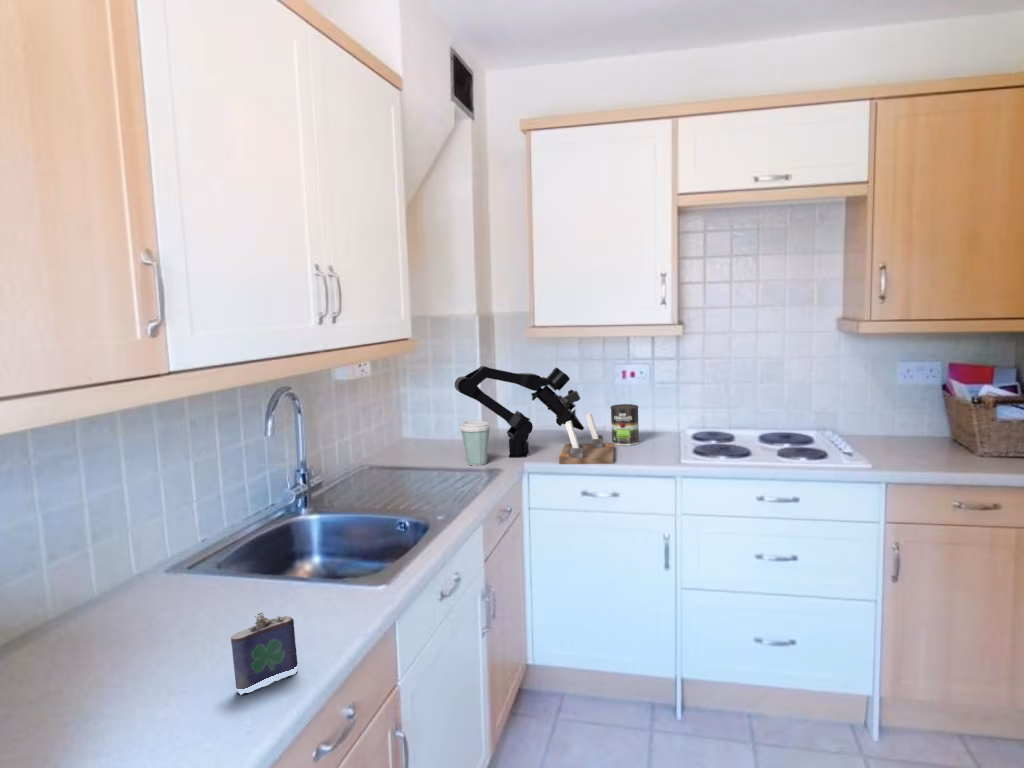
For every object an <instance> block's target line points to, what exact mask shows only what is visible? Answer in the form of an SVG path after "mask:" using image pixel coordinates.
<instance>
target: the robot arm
mask: <svg viewBox="0 0 1024 768" xmlns="http://www.w3.org/2000/svg"><path fill="white" fill-rule="evenodd" d="M486 379H490V380H496V381H501V382H506V383H511V384H516V385H517V386H521V387H523V388H526V389H527V390H531V391H535V392H531V394H530V395H531V401H532V402H533V401H535V400H536V398H537V399H538V400H539V401H540V402H541V403H542V404H544V405H545V406H546V408H547V410H548V411H551V413H554V414H555V417H556V419H555V421H556V422H555V423H556V424H557V425H558V426H559V427H561V426H562V425H565V423H566V422H567V421H572V424H573V427H574V429H577V430H580V431H583V430H584V429H585V427H584V425H583V424H582V423H581V421H580V420H579V418H578V417H577V415H576V410H577V409H576V406H577V405H576V404H575V403H576V402H579V401H580V400H581V396H580V394H579V392H578V391H577V390H573V389H570V390H568V392H567V395H565V396H562V395H558V394H557V393H556V391H561V390H562V389H563V388H564V386H566V384H568V382H569V381H570V380H571V378H570V377H569V375H568V374H566V373H565V372H564V371H563V370H561V369H560V368H559V367H555V368H554V369H553V370H552V371H551V373H549V374H548V376H547V377H544V376H542V377H541V376H540V375H538V374H535V373H530V372H529V373H528V372H526V373H525V372H524V373H523V372H522V373H521V372H519V373H518V372H512V371H506V370H502V369H496V368H492V367H489V366H485V365H481V366H479V367H478V368H477V369H475V370H473V371H471V372H470V373H468V374H466V375H464V376H463V375H462V376H459V377H457V378H456V379H455V381H454V389H455V390H456V391H457V392H459V393H460V394H463V395H465V396H466V397H469V398H470V399H473V400H476V401H477V402H479V404H481V405H482V406H484V407H485V408H487V409H488V410H490V411H492V412H493V413H494V414H496V415H498V416H499V418H501V419H503V420H504V421H506V423H507V424H508V425H509V426H510V427H509V429H508V430H507V431H506V434H507V436H508V438H509V439H508V449H509V451H508V452H509V455H508V458H526V457H528V455H529V454H530V442H529V441H528V439H529V436H530V434H531V433H532V431H533V429H534V428H533V427H534V426H533V423H532V422H531V418H530V417H527V416H525V415H524V414H523V413H522V412H520V411H518V410H516V411H515V413H514V412H512V411H511V410H509V409H508V408H506V407H505V406H503V405H502V404H501V403H499V402H497V400H495V399H494V398H492V397H490V396H489V395H488V394H486V392H483V391H482V390H481V388H480V387H479V385H480V384H481V383H482V382H483V381H484V380H486ZM573 409H574V410H573ZM572 410H573V411H572Z"/></svg>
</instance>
